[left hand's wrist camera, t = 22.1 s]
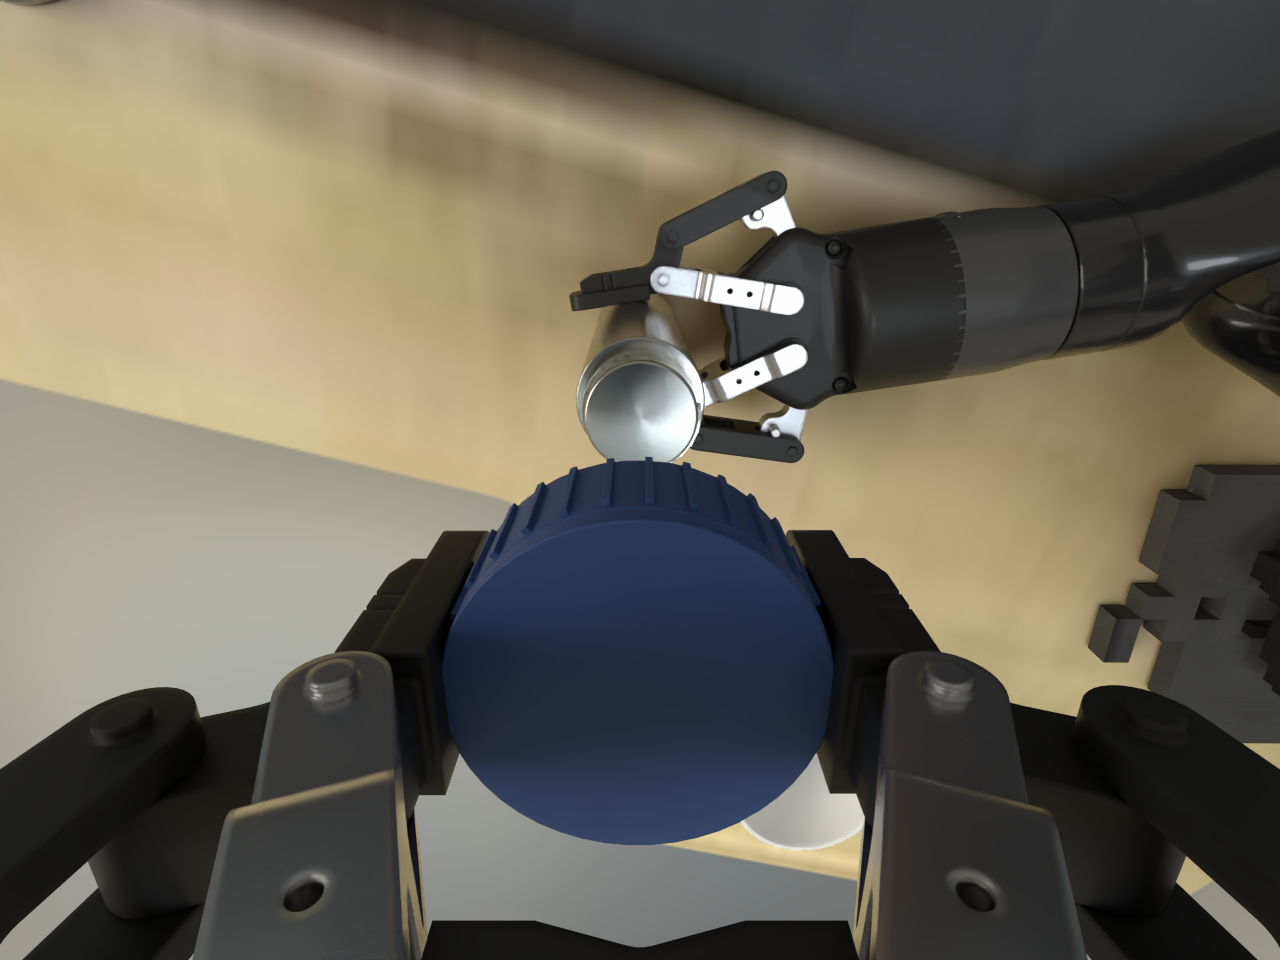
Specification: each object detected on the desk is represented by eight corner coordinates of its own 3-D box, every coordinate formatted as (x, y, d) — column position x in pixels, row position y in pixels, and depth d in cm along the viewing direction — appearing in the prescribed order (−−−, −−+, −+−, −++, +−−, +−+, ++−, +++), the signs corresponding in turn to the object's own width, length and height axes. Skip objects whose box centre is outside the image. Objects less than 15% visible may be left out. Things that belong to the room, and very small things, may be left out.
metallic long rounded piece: (603, 365, 40) (579, 488, 22) (595, 289, 38) (562, 353, 20) (677, 359, 40) (714, 477, 22) (672, 283, 38) (707, 341, 20)
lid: (583, 384, 10) (568, 429, 7) (874, 569, 11) (928, 652, 9) (414, 649, 11) (363, 745, 9) (680, 787, 12) (688, 900, 10)
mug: (659, 723, 49) (663, 847, 39) (665, 625, 46) (671, 733, 36) (824, 729, 49) (869, 853, 40) (841, 631, 46) (894, 740, 37)
